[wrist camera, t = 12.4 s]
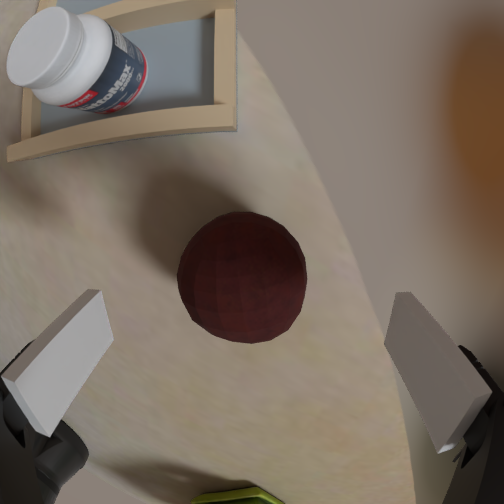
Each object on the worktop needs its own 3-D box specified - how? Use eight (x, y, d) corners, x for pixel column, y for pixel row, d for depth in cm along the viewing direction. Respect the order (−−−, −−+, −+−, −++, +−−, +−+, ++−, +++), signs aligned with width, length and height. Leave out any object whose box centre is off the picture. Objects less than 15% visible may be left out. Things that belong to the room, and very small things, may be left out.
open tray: (35, 158, 18) (7, 162, 14) (65, -40, 11) (48, -54, 8) (237, 131, 17) (232, 125, 14) (238, -84, 11) (235, -108, 7)
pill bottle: (103, 130, 17) (13, 125, 8) (73, 80, 15) (-12, 59, 7) (164, 79, 16) (98, 33, 7) (129, 31, 14) (61, -22, 6)
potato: (293, 196, 19) (313, 219, 12) (301, 303, 21) (317, 365, 14) (182, 209, 19) (144, 238, 12) (201, 312, 22) (181, 374, 15)
